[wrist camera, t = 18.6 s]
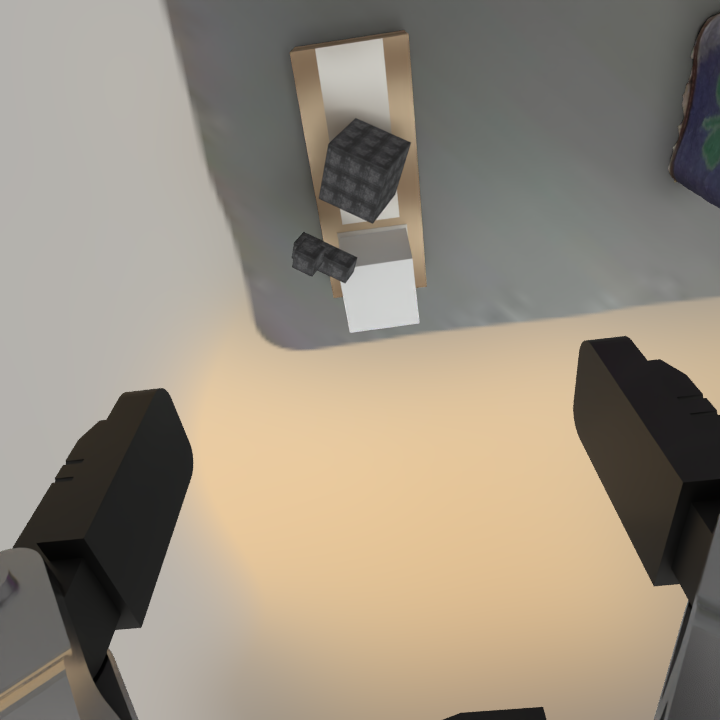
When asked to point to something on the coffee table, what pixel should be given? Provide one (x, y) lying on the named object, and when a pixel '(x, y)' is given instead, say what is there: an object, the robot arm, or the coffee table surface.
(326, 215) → the frame
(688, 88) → the flask
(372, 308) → the grey block
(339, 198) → the building blocks
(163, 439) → the robot arm
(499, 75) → the coffee table surface
